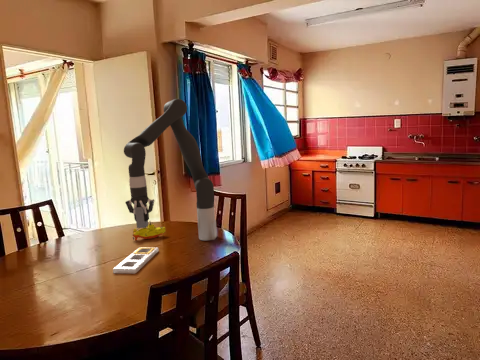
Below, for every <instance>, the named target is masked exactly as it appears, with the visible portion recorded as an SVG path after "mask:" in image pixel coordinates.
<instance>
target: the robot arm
mask: <svg viewBox="0 0 480 360" xmlns="http://www.w3.org/2000/svg"><path fill="white" fill-rule="evenodd" d="M187 109H188V106H187V104H186V102H185V101H184V100H183V99H182V98H181V99H180V98H174V99H172V100H169V101H167V102H165V104H164V105H163V114H161V115H160V116H159V117H158V118H156V119H155V120H154V121H153V122H151V123H150V124H149V125H148V126H147V127H145V129H143V130H142V131H141V133H139V134H138V135H137V136H135V137H133V138H132V139H130V140H129V141H128V142H127V143H126V144H125V146H124V148H123V154H124V155H125V156H126V158H130V159H131V163H130V164H129V165H128V176H129V178H128V179H129V180H128V183H129V192H130V199H129V200H126V201H125V204H126V207H127V209H128V212H129V213H130V214H133V219H134V221H135V222H136V215H135V207H143V209H144V213H145V214H144V215H145V222H147V221H148V222H149V221H150V214H149V213H151V212H152V211H153V209H154V204H155V199H154V198H153V199H150V198H149V196H148V187H147V186H148V185H147V178H146V173H145V163H146V155H147V154H146V153H147V152H146V147H149V146H151V145H153V143H154V142H155V141H156V140H157V139H158V138H159V137H160V136H161V135H162V134H163V133H164V132H165V131H166V130H167V129H168V128H169V127H170V128H171V129H172V131H173V135H174V137H175V140H176V142H177V144H178V147H179V150H180V152H181V153H180V154H181V155H182V157H183V161H184V162H185V163H186V166H187V167H188V170H189V171H190V175H191V177H192V181H193V185H194V189H195V194H196V214H197V215H196V216H197V229H198V230H197V231H198V239H199V240H200V241H205V242H206V241H215V240H216V238H217V237H218V233H217V232H218V231H217V220H216V219H215V218H216V216H215V188H214V183H213V181H212V180H211V179H210V177H209V176H208V174H207V172H206V170H205V168H204V166H203V161H202V159H203V158H202V154H201V152H200V148H199V145H198V143H197V140H196V139H195V137H194V136H193V135H192V134H191V132H189V130H188V129H187V127H186V126H185V124H184V122H183V119H182V117H184V116H185V115H186V114H187ZM145 205H146V206H145Z"/></svg>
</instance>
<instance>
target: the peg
mask: <svg viewBox="0 0 480 360" xmlns="http://www.w3.org/2000/svg"><path fill="white" fill-rule="evenodd" d="M145 206H146V205H145ZM144 214H145V213H144V209H143V207H135V215H136V221H135V222H136V229H142V228H148V227H147V226H148V225H149V220H148V221H147V222H145V215H144Z"/></svg>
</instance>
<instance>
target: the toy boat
mask: <svg viewBox="0 0 480 360" xmlns="http://www.w3.org/2000/svg"><path fill="white" fill-rule="evenodd" d="M164 233H166V227H165V226H159V227H156V225H155V224H153V223H152V221H151V220H148V226H147V227H146V228H134V229H133V230H132V240H133V241H135V242H136V241H137V240H138V238H139V239H144V240H147V239H155V238H158V237H159V236H161V235H163V234H164Z"/></svg>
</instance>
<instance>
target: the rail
mask: <svg viewBox="0 0 480 360" xmlns="http://www.w3.org/2000/svg"><path fill="white" fill-rule="evenodd" d="M157 253H159V247H157V246H156V247H155V246H154V247H148V246H147V247H144V246H143V247H141V246H140V247H137V248H136V249H135V250H134V251H133V252H132V253H130V254H129V255H128V256H126V258H124V259H123V260H122V261H121V262H119V263H118V264H117V265H116V266H114V267H113V268H112V273H113V274H134V275H135V274H137V273H138V272H139V271H140V269H142V268H143V267H144V266H146V265H147V264H148V262H149V261H150V260H151V259H152V258H153V257H154V256H155V255H157Z"/></svg>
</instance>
